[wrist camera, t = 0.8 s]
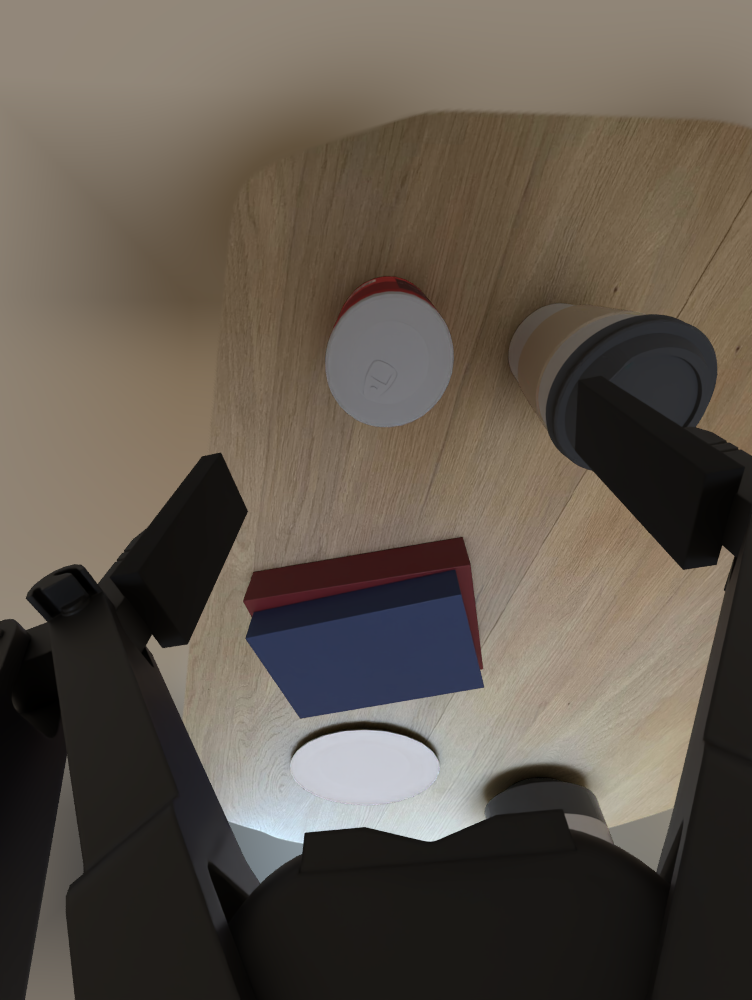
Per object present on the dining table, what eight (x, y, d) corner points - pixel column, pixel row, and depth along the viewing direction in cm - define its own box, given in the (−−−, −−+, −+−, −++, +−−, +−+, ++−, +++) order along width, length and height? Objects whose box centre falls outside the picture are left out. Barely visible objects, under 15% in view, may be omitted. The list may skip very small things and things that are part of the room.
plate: (260, 746, 69) (258, 757, 67) (396, 703, 62) (396, 714, 61) (341, 806, 80) (340, 817, 79) (462, 775, 74) (463, 786, 72)
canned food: (329, 366, 36) (313, 413, 26) (350, 261, 32) (339, 273, 22) (415, 388, 37) (429, 441, 27) (446, 290, 33) (475, 313, 23)
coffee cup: (630, 323, 34) (782, 377, 21) (556, 417, 38) (646, 509, 26) (541, 264, 32) (652, 286, 19) (473, 372, 36) (527, 448, 23)
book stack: (253, 572, 48) (233, 627, 41) (462, 536, 46) (477, 589, 39) (298, 663, 57) (288, 721, 50) (475, 638, 54) (490, 696, 48)
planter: (601, 796, 78) (655, 929, 63) (504, 819, 84) (532, 947, 69) (570, 750, 69) (623, 892, 55) (463, 780, 75) (485, 916, 60)
